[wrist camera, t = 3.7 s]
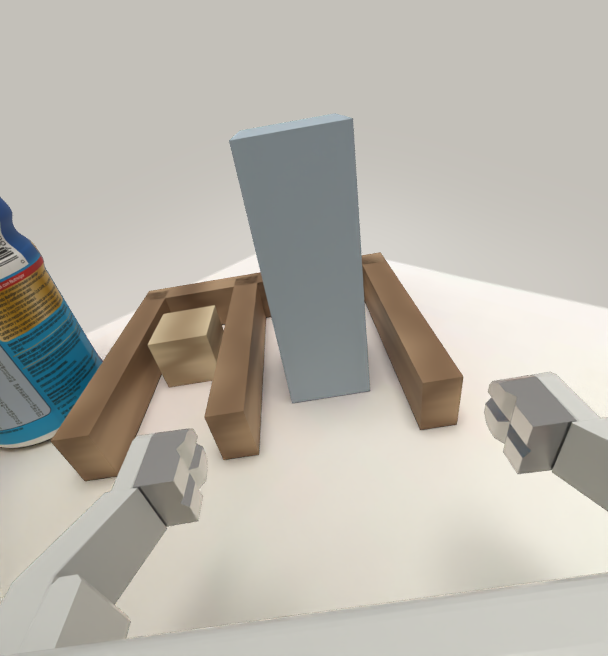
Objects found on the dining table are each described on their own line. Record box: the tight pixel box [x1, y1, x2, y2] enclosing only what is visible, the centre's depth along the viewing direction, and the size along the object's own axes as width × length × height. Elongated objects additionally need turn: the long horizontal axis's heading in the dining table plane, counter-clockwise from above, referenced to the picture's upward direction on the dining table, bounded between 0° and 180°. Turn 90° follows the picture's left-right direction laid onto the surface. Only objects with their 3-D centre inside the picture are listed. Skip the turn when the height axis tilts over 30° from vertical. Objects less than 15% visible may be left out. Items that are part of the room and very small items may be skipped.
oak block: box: [148, 305, 224, 387], centre depth 26 cm, size 4×4×4 cm
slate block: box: [229, 114, 370, 403], centre depth 20 cm, size 5×5×15 cm
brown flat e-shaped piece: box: [51, 253, 463, 481], centre depth 25 cm, size 21×16×4 cm
